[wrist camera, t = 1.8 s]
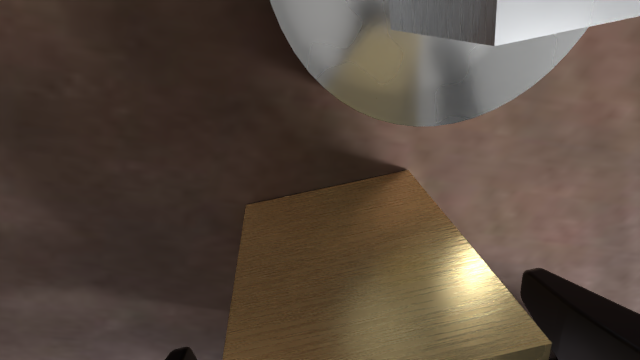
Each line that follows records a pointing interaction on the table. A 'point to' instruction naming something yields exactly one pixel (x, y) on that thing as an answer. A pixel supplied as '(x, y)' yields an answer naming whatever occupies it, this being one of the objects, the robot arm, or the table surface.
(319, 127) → the table surface
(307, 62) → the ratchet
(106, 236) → the table surface
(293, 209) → the wooden toy block
